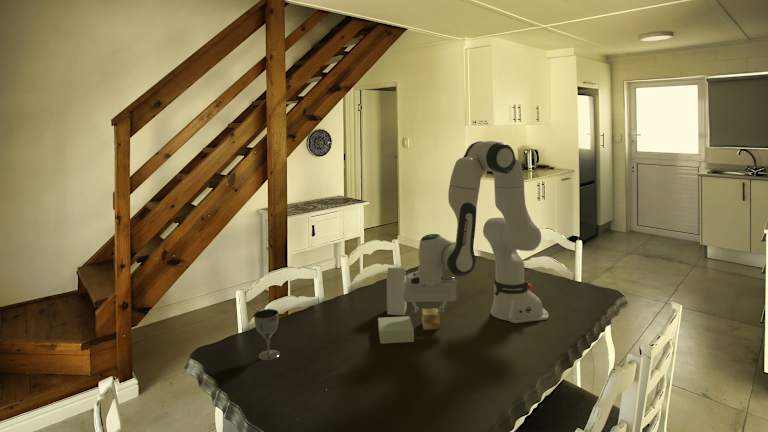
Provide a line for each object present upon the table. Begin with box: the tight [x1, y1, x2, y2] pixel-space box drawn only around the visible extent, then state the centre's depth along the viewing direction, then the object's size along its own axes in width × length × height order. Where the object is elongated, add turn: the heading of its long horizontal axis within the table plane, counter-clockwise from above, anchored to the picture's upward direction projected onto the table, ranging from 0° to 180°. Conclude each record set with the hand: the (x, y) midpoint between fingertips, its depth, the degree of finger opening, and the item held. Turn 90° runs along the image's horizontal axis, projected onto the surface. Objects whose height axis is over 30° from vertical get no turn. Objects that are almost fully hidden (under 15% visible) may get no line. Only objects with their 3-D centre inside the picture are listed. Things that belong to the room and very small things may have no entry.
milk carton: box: [386, 267, 408, 316], centre depth 192 cm, size 7×7×19 cm
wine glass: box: [253, 308, 281, 361], centre depth 158 cm, size 8×8×15 cm
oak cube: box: [421, 307, 441, 331], centre depth 179 cm, size 6×6×6 cm
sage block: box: [377, 315, 415, 344], centre depth 172 cm, size 12×12×5 cm
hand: (429, 311), depth 178 cm, fingers open, 8 cm apart
